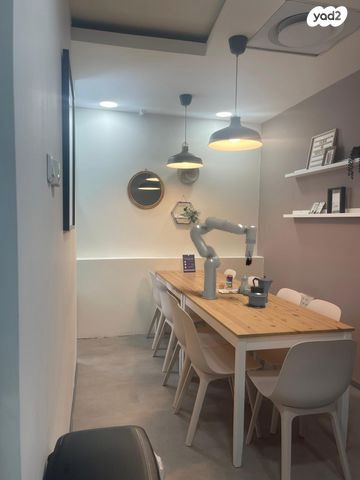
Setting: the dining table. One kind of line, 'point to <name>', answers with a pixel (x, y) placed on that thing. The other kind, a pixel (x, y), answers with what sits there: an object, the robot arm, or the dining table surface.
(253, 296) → the pot
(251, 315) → the dining table surface
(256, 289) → the lid
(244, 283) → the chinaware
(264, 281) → the moka pot
